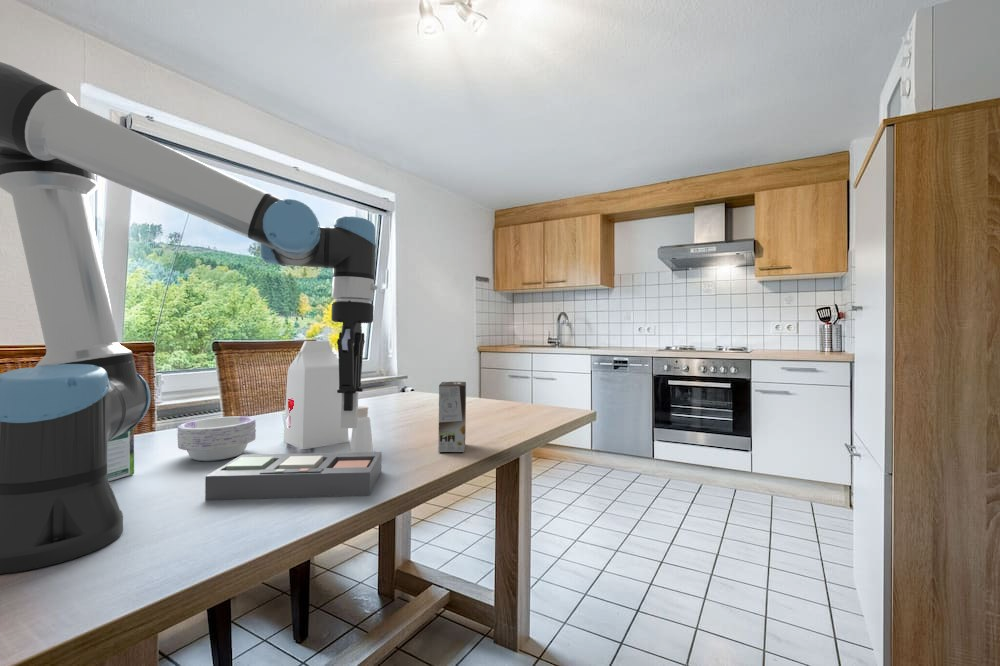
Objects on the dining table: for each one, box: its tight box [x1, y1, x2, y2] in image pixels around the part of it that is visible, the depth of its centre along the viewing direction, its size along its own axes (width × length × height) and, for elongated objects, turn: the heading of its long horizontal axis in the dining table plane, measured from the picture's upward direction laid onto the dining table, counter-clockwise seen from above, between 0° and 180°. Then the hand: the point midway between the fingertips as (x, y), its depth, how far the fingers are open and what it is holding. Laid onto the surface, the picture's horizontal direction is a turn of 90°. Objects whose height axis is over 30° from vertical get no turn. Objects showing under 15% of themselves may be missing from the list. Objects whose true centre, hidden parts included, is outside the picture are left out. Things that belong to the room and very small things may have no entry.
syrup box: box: [107, 427, 135, 482], centre depth 90 cm, size 6×6×14 cm
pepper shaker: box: [349, 405, 374, 453], centre depth 109 cm, size 5×5×11 cm
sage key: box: [226, 457, 274, 470], centre depth 86 cm, size 6×6×2 cm
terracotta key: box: [333, 460, 371, 468], centre depth 88 cm, size 6×6×2 cm
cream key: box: [279, 456, 323, 469], centre depth 87 cm, size 6×6×2 cm
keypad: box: [204, 451, 382, 501], centre depth 87 cm, size 14×27×4 cm, turn 96°
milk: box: [283, 340, 350, 450], centre depth 121 cm, size 12×12×26 cm
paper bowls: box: [176, 415, 257, 462], centre depth 106 cm, size 15×15×8 cm
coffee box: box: [437, 381, 467, 453], centre depth 115 cm, size 9×6×16 cm
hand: (349, 427), depth 88 cm, fingers closed
